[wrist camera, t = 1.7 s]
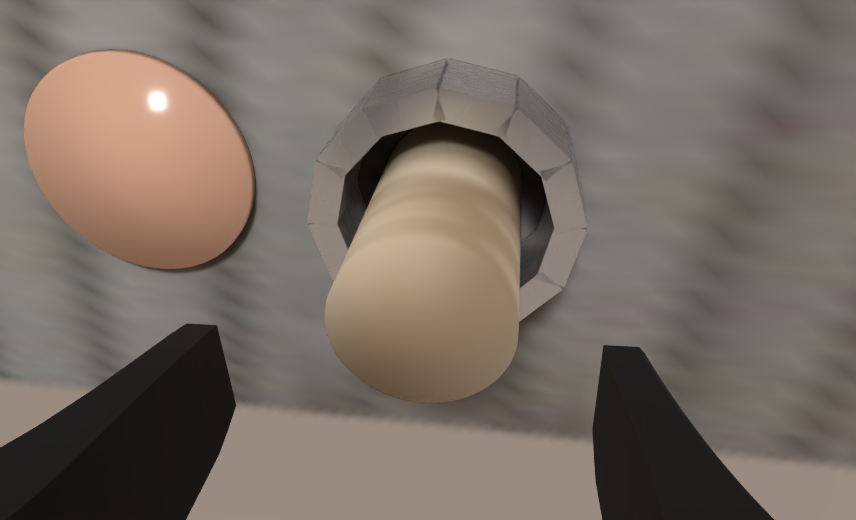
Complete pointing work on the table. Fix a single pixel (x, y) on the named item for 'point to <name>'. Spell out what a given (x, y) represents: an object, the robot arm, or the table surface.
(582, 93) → the table surface
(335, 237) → the collar
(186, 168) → the coaster
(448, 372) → the peg
